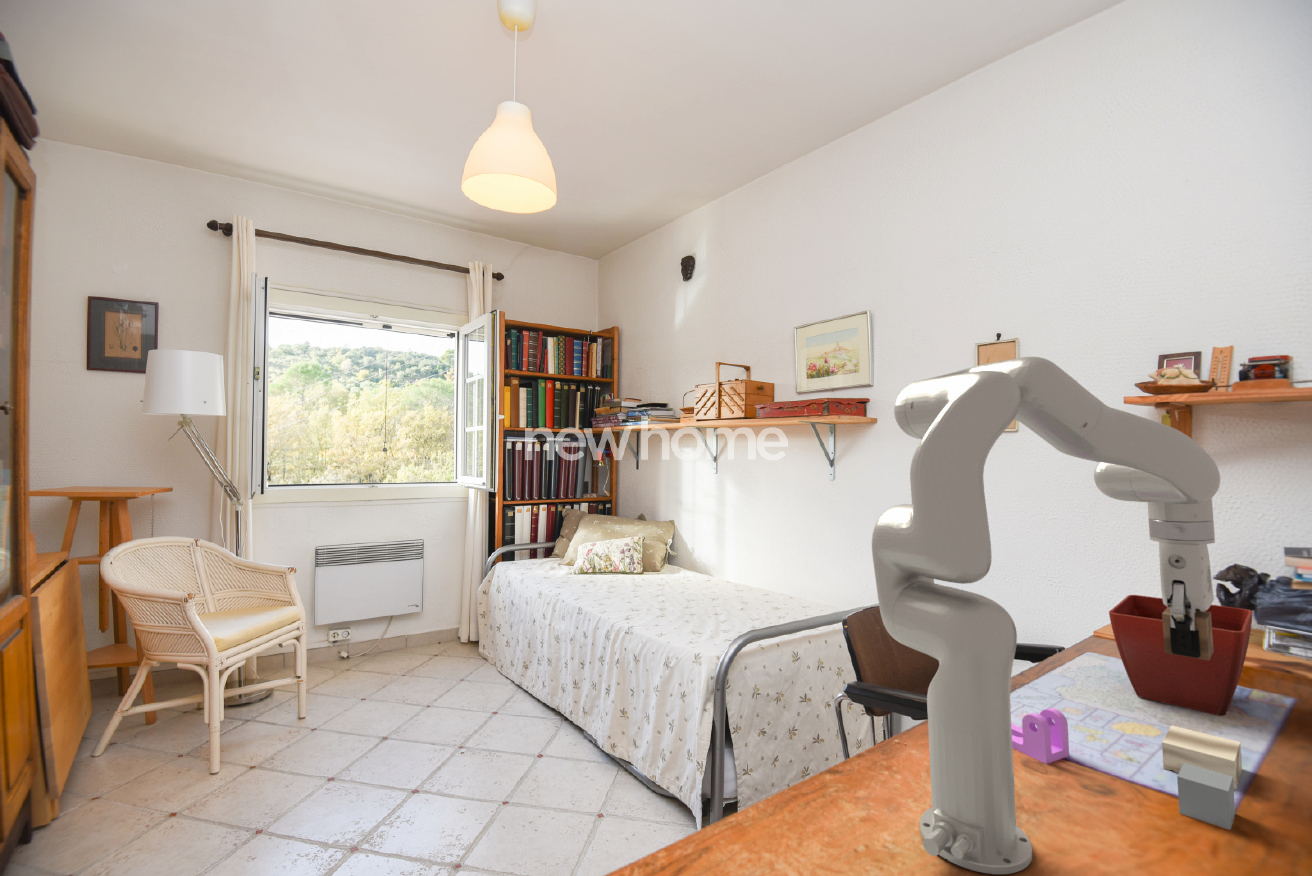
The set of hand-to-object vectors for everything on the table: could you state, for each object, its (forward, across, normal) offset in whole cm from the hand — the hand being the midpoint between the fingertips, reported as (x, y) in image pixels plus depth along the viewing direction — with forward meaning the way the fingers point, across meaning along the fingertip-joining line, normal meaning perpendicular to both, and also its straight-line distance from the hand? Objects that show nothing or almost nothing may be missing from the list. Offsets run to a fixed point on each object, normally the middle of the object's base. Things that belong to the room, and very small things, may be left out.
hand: (1188, 649), depth 91 cm
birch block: (+18, +1, 0) cm, 18 cm away
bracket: (+18, -9, +21) cm, 30 cm away
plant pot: (+19, +32, +5) cm, 38 cm away
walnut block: (+1, 0, 0) cm, 1 cm away
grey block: (+18, -13, -2) cm, 23 cm away
